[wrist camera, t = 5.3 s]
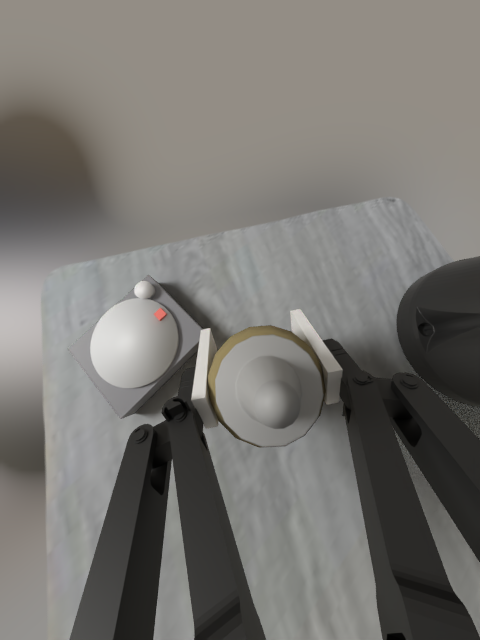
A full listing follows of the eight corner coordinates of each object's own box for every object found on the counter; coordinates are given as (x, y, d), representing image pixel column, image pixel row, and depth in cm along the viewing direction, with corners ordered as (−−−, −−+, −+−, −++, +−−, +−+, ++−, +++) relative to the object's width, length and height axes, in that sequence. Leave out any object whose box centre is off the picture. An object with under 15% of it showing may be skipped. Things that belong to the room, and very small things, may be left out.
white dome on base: (158, 282, 26) (144, 271, 23) (211, 336, 24) (204, 332, 21) (85, 350, 25) (60, 348, 22) (134, 413, 23) (115, 421, 20)
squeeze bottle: (216, 348, 24) (105, 300, 6) (284, 329, 23) (367, 224, 6) (234, 421, 22) (147, 657, 4) (307, 401, 22) (530, 556, 4)
